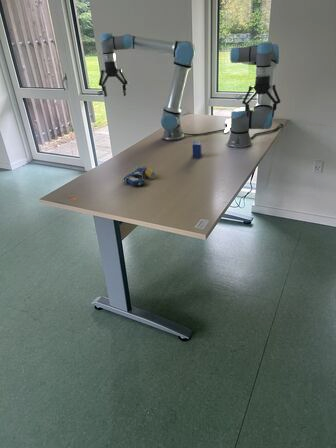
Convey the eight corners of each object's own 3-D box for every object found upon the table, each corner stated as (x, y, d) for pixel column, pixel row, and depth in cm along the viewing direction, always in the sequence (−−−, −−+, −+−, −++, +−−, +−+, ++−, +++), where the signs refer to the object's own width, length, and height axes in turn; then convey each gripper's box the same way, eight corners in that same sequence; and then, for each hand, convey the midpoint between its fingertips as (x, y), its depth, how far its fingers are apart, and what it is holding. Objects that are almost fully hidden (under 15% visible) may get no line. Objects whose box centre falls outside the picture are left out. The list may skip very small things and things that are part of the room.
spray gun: (161, 173, 192) (139, 170, 198) (160, 166, 189) (138, 164, 196) (143, 189, 176) (120, 186, 183) (142, 181, 174) (118, 179, 180)
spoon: (232, 135, 248) (232, 132, 246) (218, 134, 251) (218, 132, 250) (241, 119, 274) (241, 117, 273) (228, 119, 278) (228, 117, 276)
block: (192, 158, 210) (192, 144, 205) (194, 154, 214) (193, 141, 210) (200, 158, 208) (200, 144, 204) (201, 154, 213) (201, 141, 209)
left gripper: (89, 63, 213) (96, 97, 224) (126, 60, 208) (131, 96, 219) (94, 61, 219) (100, 95, 230) (130, 59, 214) (134, 94, 225)
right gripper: (238, 77, 178) (236, 118, 188) (287, 75, 171) (283, 117, 181) (239, 75, 184) (238, 115, 195) (287, 73, 177) (283, 114, 188)
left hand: (115, 96), depth 224 cm, fingers open, 13 cm apart
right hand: (260, 116), depth 188 cm, fingers open, 13 cm apart
